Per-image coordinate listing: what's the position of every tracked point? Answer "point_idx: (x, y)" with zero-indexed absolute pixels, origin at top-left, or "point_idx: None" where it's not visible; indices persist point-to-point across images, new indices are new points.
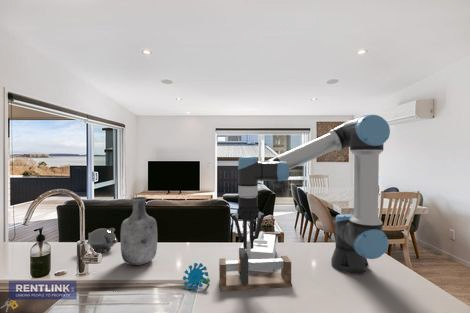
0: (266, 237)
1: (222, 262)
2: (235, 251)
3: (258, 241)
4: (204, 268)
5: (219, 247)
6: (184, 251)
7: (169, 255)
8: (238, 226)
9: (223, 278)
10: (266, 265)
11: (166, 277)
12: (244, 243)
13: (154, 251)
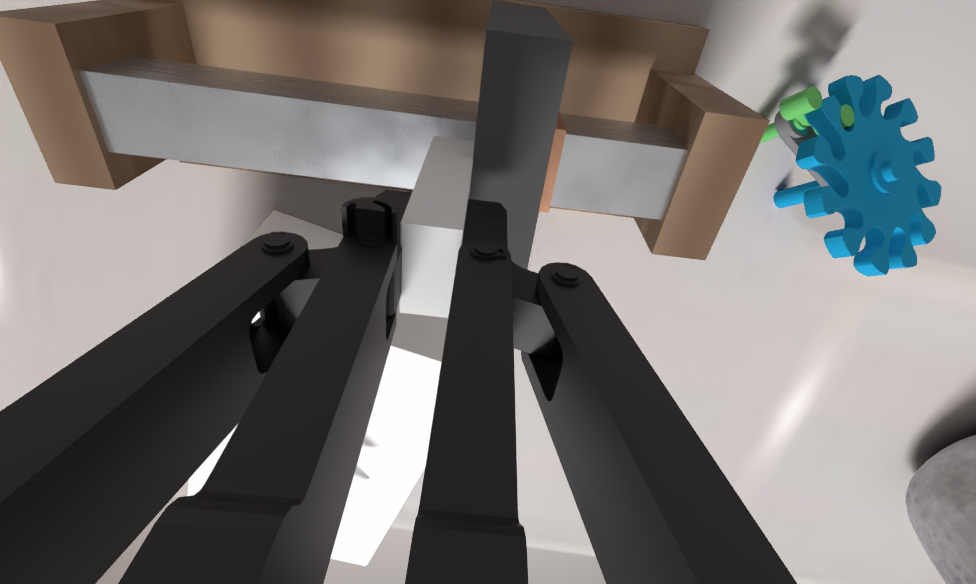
0: None
1: (716, 172)
2: None
3: None
4: (830, 196)
5: (527, 510)
6: None
7: (797, 486)
8: (659, 466)
9: (687, 84)
10: (287, 87)
11: (939, 288)
12: (495, 238)
13: (969, 491)
